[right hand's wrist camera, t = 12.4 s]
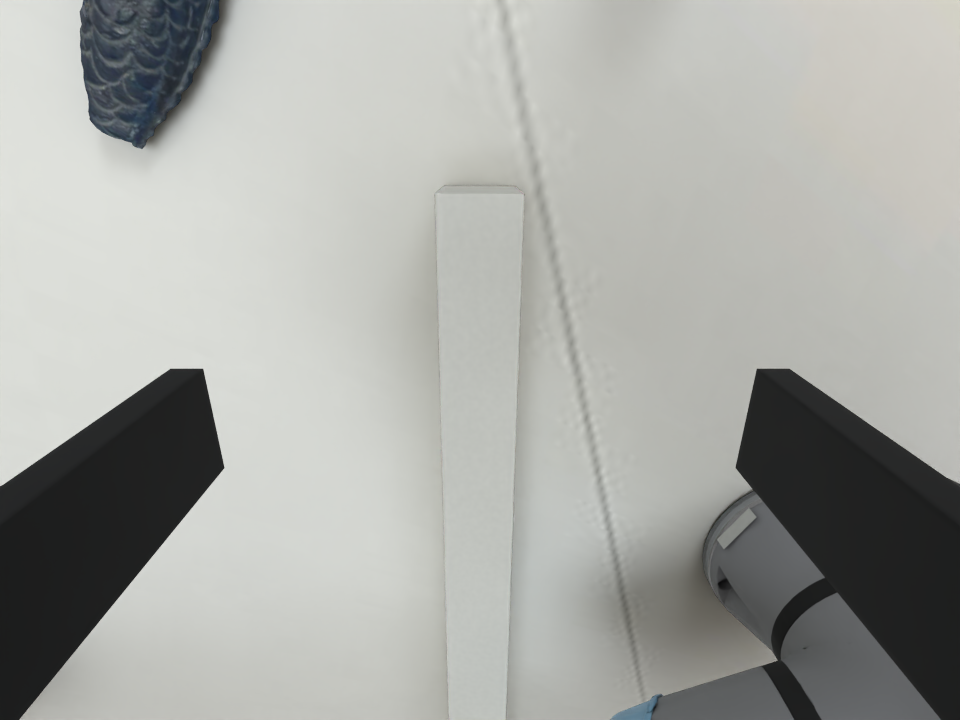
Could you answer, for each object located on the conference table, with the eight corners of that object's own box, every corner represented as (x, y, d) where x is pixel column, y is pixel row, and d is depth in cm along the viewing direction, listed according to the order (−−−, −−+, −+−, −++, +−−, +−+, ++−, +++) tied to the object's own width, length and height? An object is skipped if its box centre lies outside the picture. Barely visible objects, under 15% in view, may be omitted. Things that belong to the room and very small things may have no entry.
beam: (443, 185, 36) (434, 193, 29) (516, 185, 36) (524, 193, 29) (454, 743, 57) (451, 824, 50) (499, 743, 57) (502, 824, 50)
